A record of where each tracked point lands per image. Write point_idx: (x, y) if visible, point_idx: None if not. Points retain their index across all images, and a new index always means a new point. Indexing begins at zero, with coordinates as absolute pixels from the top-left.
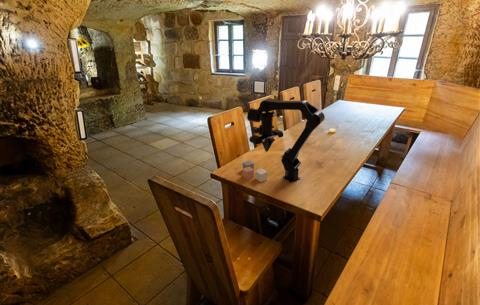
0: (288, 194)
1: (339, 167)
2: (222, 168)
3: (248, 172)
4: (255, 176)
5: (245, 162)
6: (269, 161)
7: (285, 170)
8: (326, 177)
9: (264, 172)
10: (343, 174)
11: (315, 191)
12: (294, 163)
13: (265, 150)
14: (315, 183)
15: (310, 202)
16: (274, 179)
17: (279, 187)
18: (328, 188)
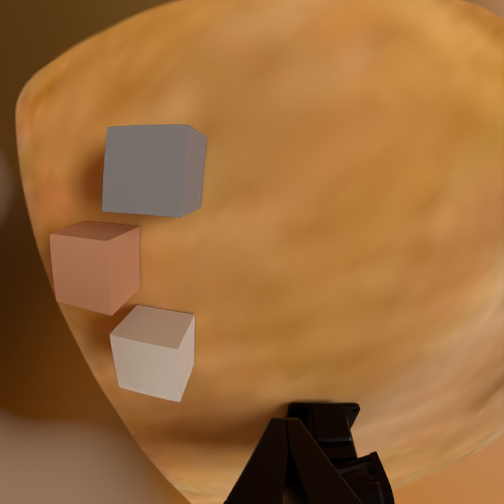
0: (195, 465)
1: (491, 426)
2: (69, 50)
3: (68, 301)
4: (129, 315)
5: (128, 142)
6: (419, 179)
7: (315, 431)
8: (409, 461)
9: (157, 392)
10: (450, 460)
11: None
12: (371, 472)
13: (263, 438)
14: None
15: (224, 501)
16: (233, 386)
17: (198, 433)
18: None
